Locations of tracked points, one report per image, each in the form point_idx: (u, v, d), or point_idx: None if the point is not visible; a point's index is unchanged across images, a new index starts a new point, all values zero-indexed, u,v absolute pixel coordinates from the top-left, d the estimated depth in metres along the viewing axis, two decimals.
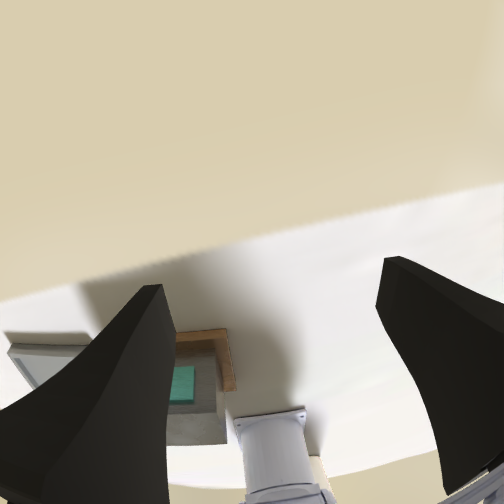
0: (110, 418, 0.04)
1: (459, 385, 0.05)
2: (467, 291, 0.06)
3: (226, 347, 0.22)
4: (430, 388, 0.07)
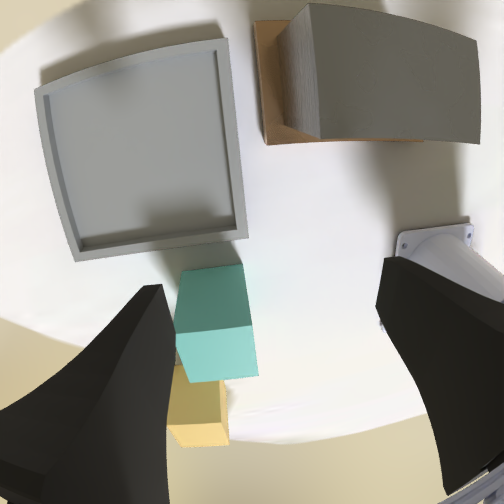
0: (110, 418, 0.04)
1: (459, 385, 0.05)
2: (467, 291, 0.06)
3: None
4: (430, 388, 0.07)
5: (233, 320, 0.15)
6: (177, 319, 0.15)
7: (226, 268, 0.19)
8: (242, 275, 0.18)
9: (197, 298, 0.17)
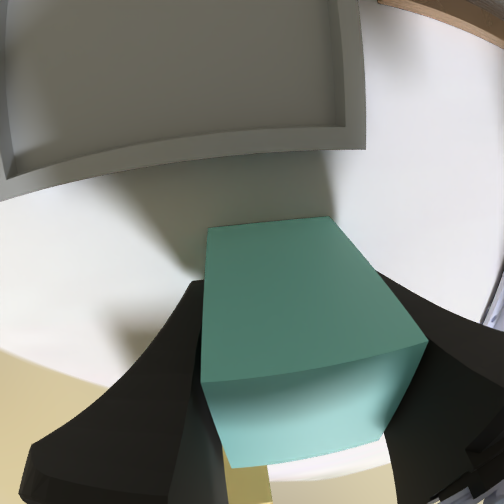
0: (196, 419, 0.04)
1: (409, 405, 0.05)
2: (423, 302, 0.06)
3: None
4: None
5: (375, 331, 0.05)
6: (212, 334, 0.05)
7: (301, 223, 0.09)
8: (340, 234, 0.09)
9: (256, 280, 0.07)
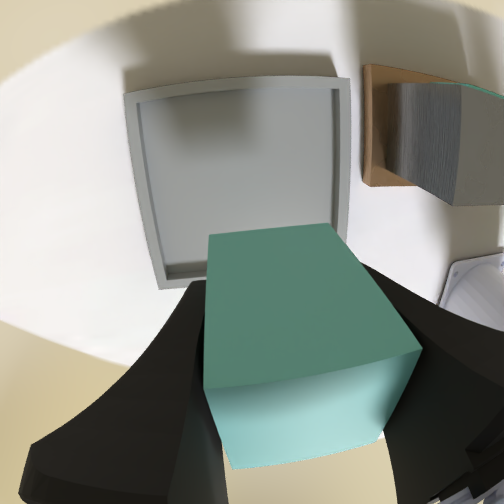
0: (196, 419, 0.04)
1: (409, 405, 0.05)
2: (423, 302, 0.06)
3: None
4: None
5: (371, 338, 0.05)
6: (214, 341, 0.06)
7: (300, 229, 0.10)
8: (339, 241, 0.09)
9: (256, 287, 0.07)
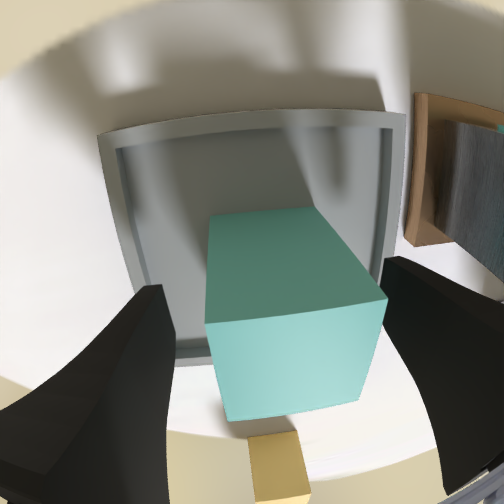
0: (110, 418, 0.04)
1: (459, 385, 0.05)
2: (467, 291, 0.06)
3: None
4: (430, 388, 0.07)
5: (343, 290, 0.07)
6: (214, 291, 0.07)
7: (289, 211, 0.11)
8: (323, 220, 0.10)
9: (250, 253, 0.08)
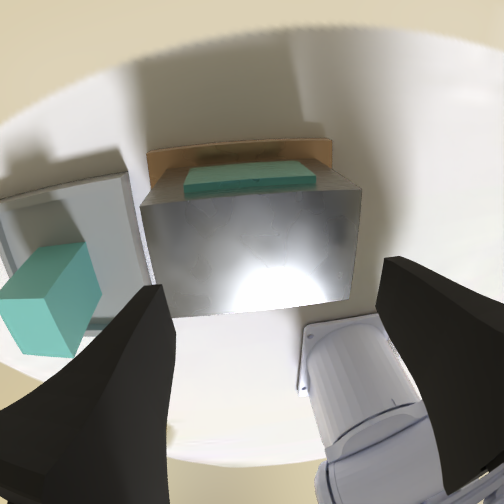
0: (110, 418, 0.04)
1: (459, 385, 0.05)
2: (467, 291, 0.06)
3: (329, 159, 0.16)
4: (430, 388, 0.07)
5: (35, 292, 0.12)
6: (4, 287, 0.12)
7: (70, 245, 0.16)
8: (75, 252, 0.15)
9: (28, 271, 0.14)
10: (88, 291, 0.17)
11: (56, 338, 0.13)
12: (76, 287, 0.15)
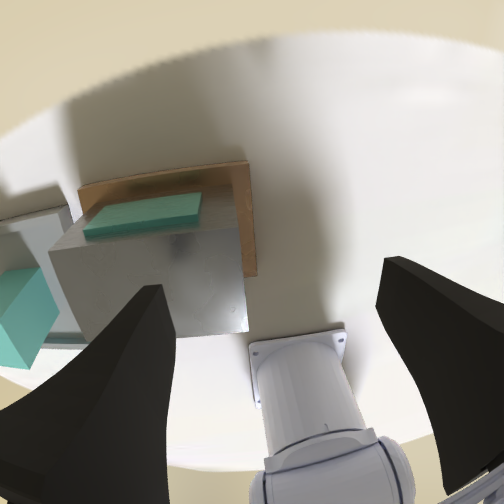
0: (110, 418, 0.04)
1: (459, 385, 0.05)
2: (467, 291, 0.06)
3: (248, 183, 0.16)
4: (430, 388, 0.07)
5: None
6: None
7: (28, 270, 0.17)
8: (30, 277, 0.16)
9: None
10: (44, 311, 0.17)
11: (14, 352, 0.13)
12: (31, 308, 0.16)
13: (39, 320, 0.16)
